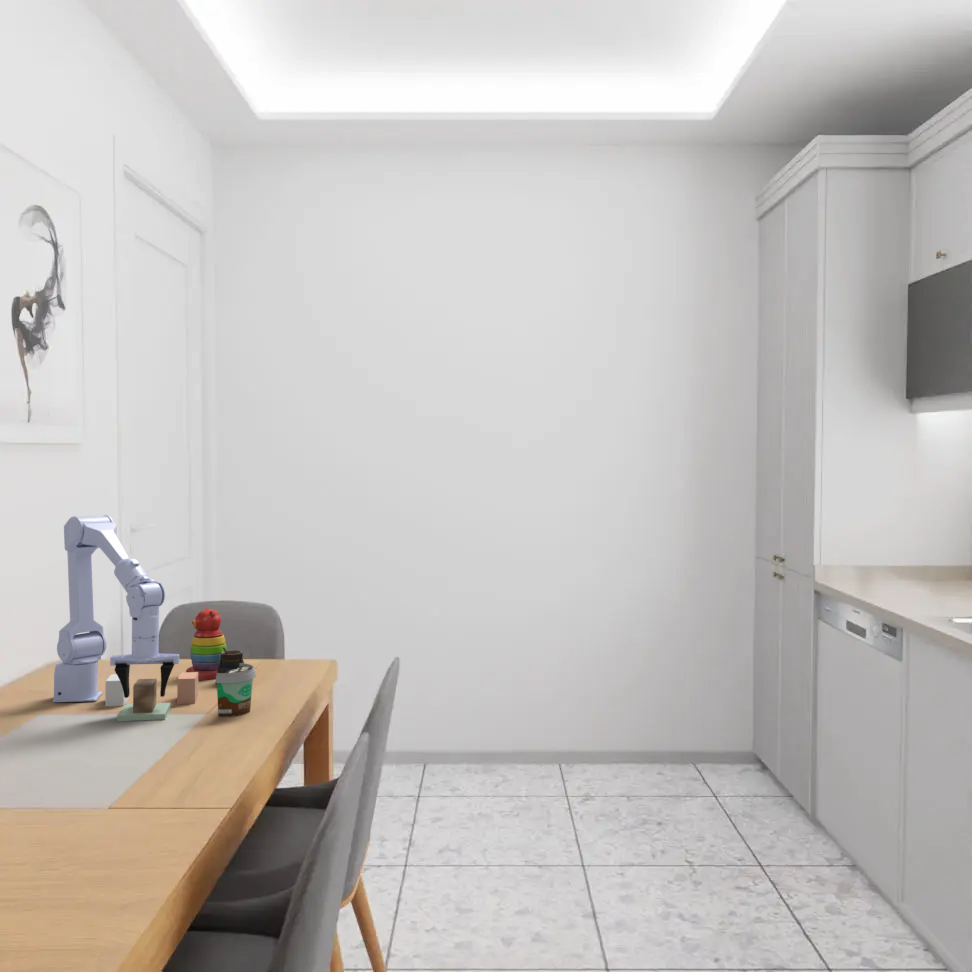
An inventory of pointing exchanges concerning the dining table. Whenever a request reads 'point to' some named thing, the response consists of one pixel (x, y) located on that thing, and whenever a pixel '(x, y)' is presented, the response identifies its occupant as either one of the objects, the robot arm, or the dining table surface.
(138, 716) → the sage green board
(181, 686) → the terracotta brick
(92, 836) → the dining table surface
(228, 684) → the food container
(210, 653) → the stacking bear
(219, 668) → the mate gourd
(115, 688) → the pale grey brick
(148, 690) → the walnut brick
